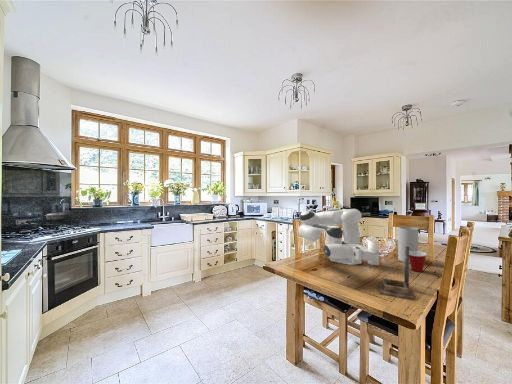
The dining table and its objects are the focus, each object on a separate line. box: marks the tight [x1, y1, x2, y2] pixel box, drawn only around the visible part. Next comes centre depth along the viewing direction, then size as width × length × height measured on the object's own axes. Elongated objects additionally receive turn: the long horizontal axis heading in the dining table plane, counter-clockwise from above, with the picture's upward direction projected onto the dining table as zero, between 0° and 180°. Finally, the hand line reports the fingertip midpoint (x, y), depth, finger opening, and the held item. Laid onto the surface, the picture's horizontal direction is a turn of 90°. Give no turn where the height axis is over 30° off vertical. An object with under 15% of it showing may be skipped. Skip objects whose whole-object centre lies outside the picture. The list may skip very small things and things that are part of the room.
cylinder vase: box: [397, 226, 419, 264], centre depth 172 cm, size 12×12×25 cm
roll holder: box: [378, 246, 414, 301], centre depth 121 cm, size 14×14×23 cm
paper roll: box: [367, 240, 380, 266], centre depth 137 cm, size 6×6×13 cm
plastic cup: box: [409, 250, 428, 273], centre depth 151 cm, size 11×11×12 cm
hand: (374, 251), depth 137 cm, fingers closed on paper roll, 6 cm apart
